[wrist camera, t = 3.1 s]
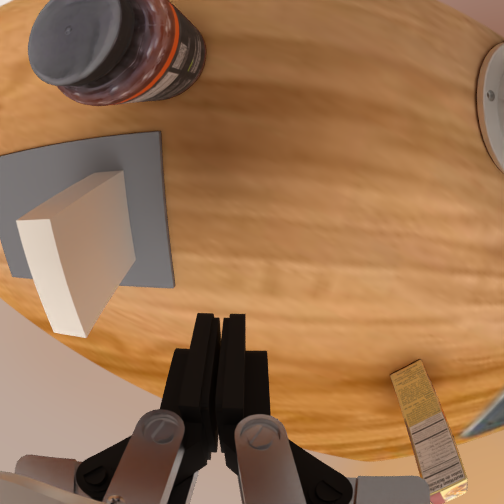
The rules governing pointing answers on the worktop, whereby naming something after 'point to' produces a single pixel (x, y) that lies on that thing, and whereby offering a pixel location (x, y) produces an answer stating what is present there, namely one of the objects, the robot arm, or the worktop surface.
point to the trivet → (77, 168)
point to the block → (79, 250)
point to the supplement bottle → (116, 50)
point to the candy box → (429, 434)
